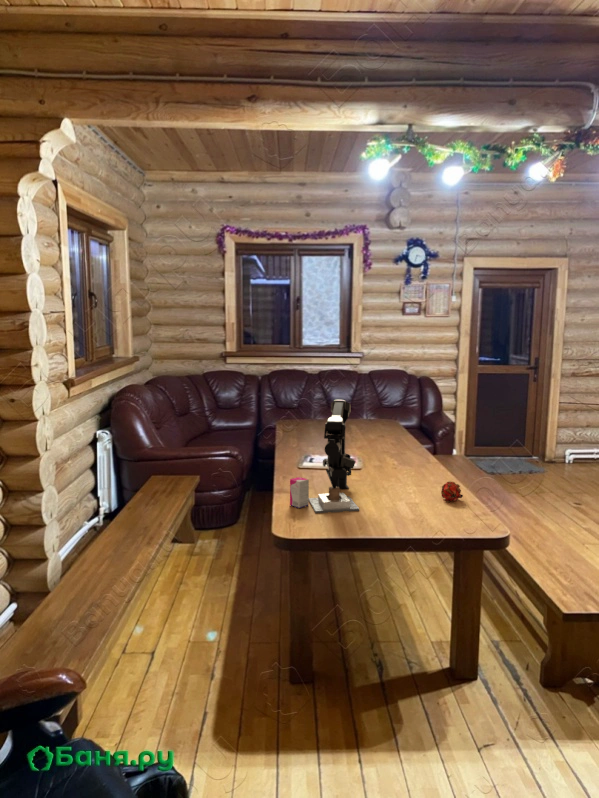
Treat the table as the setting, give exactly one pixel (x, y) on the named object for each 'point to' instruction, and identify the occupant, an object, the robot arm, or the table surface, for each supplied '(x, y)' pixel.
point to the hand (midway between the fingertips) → (334, 487)
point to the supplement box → (299, 492)
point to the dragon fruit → (451, 491)
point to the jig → (332, 504)
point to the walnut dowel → (334, 493)
